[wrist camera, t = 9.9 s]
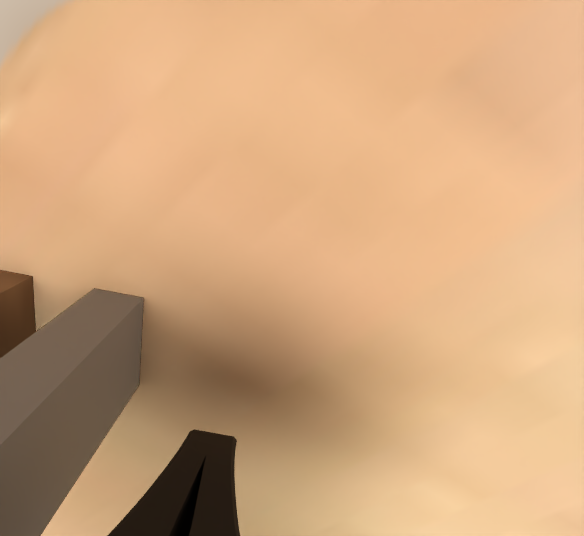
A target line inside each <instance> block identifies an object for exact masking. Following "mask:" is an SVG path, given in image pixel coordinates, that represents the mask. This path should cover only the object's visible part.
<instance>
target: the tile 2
mask: <svg viewBox="0 0 584 536" xmlns="http://www.w3.org/2000/svg"><path fill="white" fill-rule="evenodd" d="M35 332H36V327H35V311H34V294H33V277H32V276H28V275H23V274H18V273H12V272H7V271H2V270H0V358H2V357H3V356H4V355H6V354H7V353H8V352H10V351H11V350H12V349H14V348H15V347H16V346H18V345H19V344H20V343H22V342H23V341H24V340H26V339H27V338H28V337H30V336H31V335H32V334H34V333H35Z"/></svg>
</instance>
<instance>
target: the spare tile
mask: <svg viewBox="0 0 584 536" xmlns="http://www.w3.org/2000/svg"><path fill="white" fill-rule="evenodd" d="M143 304H144V298H142V297H137V296H132V295H127V294H121V293H116V292H111V291H105V290H100V289H95V288H94V289H93V290H92V291H90V292H89V293H88V294H86V295H85V296H84V297H82V298H81V299H80V300H78V301H77V302H76V303H74V304H73V305H71V306H70V307H69V308H67V309H66V310H65V311H63V312H62V313H61V314H59V315H58V316H57V317H55V318H54V319H53V320H51V321H50V322H49V323H47V324H46V325H45V326H43V327H42V328H41V329H39V330H38V331H37V332H35V333H34V334H32V335H31V336H30V337H28V338H27V339H26V340H24V341H23V342H22V343H20V344H19V345H18V346H16V347H15V348H14V349H12V350H11V351H10V352H8V353H7V354H6V355H4V356H3V357H2V358H0V536H40V535H41V534H42V532H43V531H44V529H45V528H46V526H47V525H48V523H49V522H50V520H51V519H52V517H53V516H54V514H55V513H56V511H57V510H58V508H59V506H60V505H61V503H62V502H63V500H64V499H65V497H66V496H67V494H68V493H69V491H70V490H71V488H72V487H73V485H74V484H75V482H76V481H77V479H78V478H79V476H80V474H81V473H82V471H83V470H84V468H85V467H86V465H87V464H88V462H89V461H90V459H91V458H92V456H93V455H94V453H95V452H96V450H97V449H98V447H99V446H100V444H101V442H102V441H103V439H104V438H105V436H106V435H107V433H108V432H109V430H110V429H111V427H112V426H113V424H114V423H115V421H116V420H117V418H118V417H119V415H120V414H121V412H122V411H123V409H124V407H125V406H126V404H127V403H128V401H129V400H130V398H131V397H132V395H133V394H134V392H135V391H136V389H137V388H138V386H139V377H140V359H141V340H142V322H143Z"/></svg>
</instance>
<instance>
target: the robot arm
mask: <svg viewBox="0 0 584 536" xmlns="http://www.w3.org/2000/svg"><path fill="white" fill-rule="evenodd" d="M236 442H237V440H236V439H235V438H234V437H232V436H227V435H221V434H216V433H210V432H205V431H199V430H192V431H190V432H189V434H188V436H187V438H186V439H185V441H184V442H183V444H182V445H181V447H180V449H179V450H178V451H177V453H176V454H175V456H174V457H173V459H172V460H171V461H170V463H169V464H168V465H167V467H166V468H165V469H164V471H163V472H162V473H161V474H160V476H159V477H158V478H157V479H156V481H155V482H154V483H153V485H152V486H151V487H150V488H149V490H148V491H147V492H146V493H145V494H144V496H143V497H142V498H141V499H140V500H139V501H138V503H137V504H136V505H135V506H134V507H133V508H132V509H131V510H130V512H129V513H128V514H127V515H126V516H125V517H124V518H123V520H122V521H121V522H120V523H119V524H118V525H117V526H116V527H115V528H114V529H113V530H112V531H111V533H110V534H109V535H108V536H240V533H239V527H238V518H237V508H236V497H235V481H234V459H235V447H236Z"/></svg>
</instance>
